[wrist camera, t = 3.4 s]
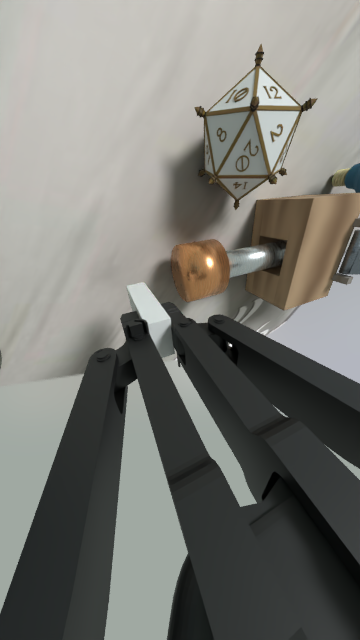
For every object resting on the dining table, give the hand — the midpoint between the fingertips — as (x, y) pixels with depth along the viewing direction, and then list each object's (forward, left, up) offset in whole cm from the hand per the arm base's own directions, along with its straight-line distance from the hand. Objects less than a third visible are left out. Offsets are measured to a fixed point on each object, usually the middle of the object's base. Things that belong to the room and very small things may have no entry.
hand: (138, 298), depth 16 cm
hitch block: (+22, 0, -6) cm, 22 cm away
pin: (+13, 0, -6) cm, 15 cm away
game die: (+12, +11, -7) cm, 17 cm away
